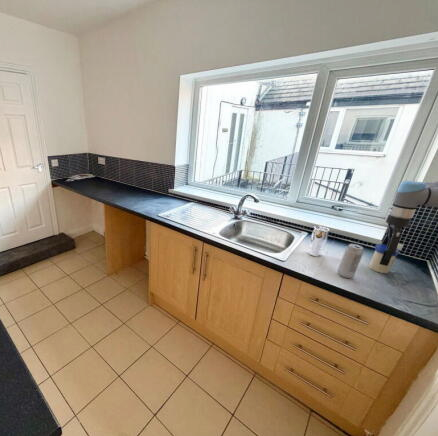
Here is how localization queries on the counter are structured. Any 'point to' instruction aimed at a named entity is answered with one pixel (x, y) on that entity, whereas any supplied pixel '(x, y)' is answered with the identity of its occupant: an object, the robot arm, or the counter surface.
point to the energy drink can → (350, 260)
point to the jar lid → (384, 249)
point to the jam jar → (376, 264)
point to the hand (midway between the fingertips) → (382, 260)
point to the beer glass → (318, 240)
